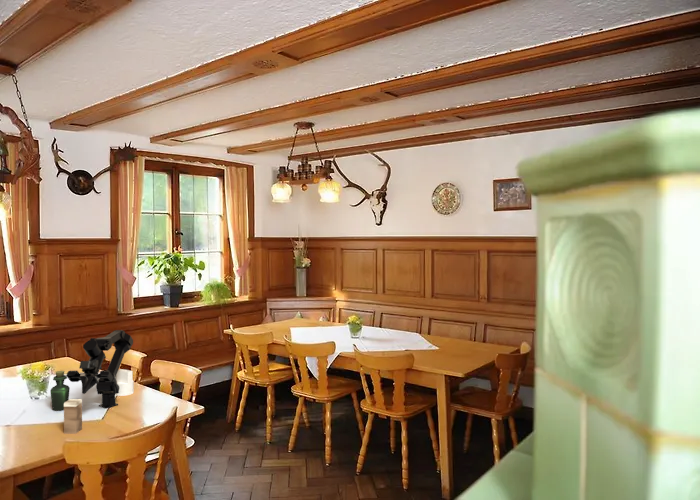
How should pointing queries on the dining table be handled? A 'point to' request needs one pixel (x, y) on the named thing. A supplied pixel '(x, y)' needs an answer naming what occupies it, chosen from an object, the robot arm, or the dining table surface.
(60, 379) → the potion bottle
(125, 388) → the white cutaway cylinder
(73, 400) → the cream and brown block
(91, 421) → the dining table surface
